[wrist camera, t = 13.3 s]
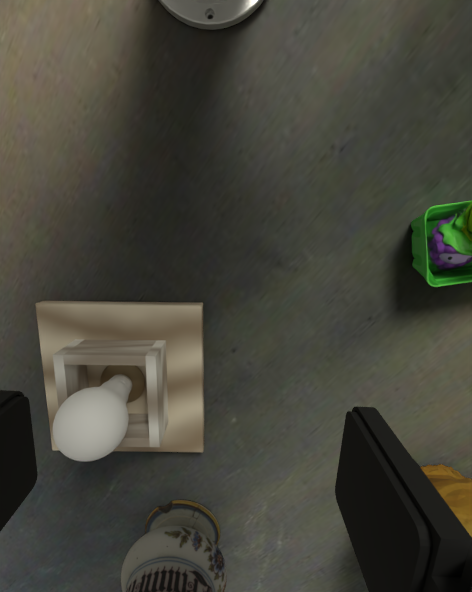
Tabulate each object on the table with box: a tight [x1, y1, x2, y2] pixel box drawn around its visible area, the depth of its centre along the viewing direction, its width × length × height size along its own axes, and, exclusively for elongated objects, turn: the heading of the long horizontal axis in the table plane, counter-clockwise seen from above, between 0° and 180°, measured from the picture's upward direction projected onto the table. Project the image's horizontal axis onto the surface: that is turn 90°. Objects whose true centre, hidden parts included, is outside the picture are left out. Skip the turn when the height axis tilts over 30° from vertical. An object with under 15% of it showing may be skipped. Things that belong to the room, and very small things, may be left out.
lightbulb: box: [53, 374, 132, 461], centre depth 31 cm, size 6×6×11 cm
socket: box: [35, 301, 204, 452], centre depth 35 cm, size 18×18×6 cm
